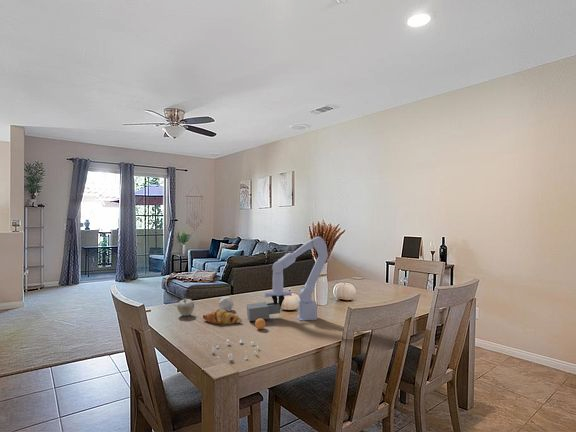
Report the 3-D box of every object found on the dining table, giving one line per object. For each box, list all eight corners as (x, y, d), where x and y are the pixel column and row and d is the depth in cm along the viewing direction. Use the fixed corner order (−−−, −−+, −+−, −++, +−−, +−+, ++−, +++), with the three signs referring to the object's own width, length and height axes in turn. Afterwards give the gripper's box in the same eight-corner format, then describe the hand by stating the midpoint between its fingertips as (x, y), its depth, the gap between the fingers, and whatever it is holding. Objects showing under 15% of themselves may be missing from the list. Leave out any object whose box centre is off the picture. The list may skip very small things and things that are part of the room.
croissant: (243, 328, 179) (245, 313, 182) (237, 325, 170) (240, 308, 174) (204, 325, 183) (207, 310, 186) (197, 321, 174) (200, 305, 178)
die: (226, 314, 193) (236, 299, 196) (213, 306, 195) (223, 291, 198) (228, 316, 201) (237, 301, 204) (216, 308, 202) (225, 293, 205)
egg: (265, 331, 167) (264, 323, 171) (266, 324, 165) (265, 316, 169) (254, 331, 166) (254, 322, 170) (256, 324, 164) (255, 316, 168)
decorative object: (192, 312, 195) (192, 295, 195) (195, 316, 187) (195, 298, 187) (176, 314, 191) (176, 296, 191) (178, 319, 183) (178, 300, 183)
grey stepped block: (277, 312, 190) (276, 300, 190) (281, 316, 180) (280, 304, 180) (247, 315, 186) (246, 304, 186) (249, 321, 176) (249, 308, 176)
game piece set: (245, 366, 127) (245, 355, 127) (200, 357, 135) (200, 347, 135) (269, 347, 145) (269, 338, 145) (228, 340, 153) (228, 332, 153)
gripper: (265, 286, 180) (265, 312, 180) (293, 285, 183) (293, 310, 183) (263, 283, 186) (263, 309, 187) (289, 282, 190) (289, 307, 190)
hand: (277, 309), depth 185 cm, fingers closed on grey stepped block
